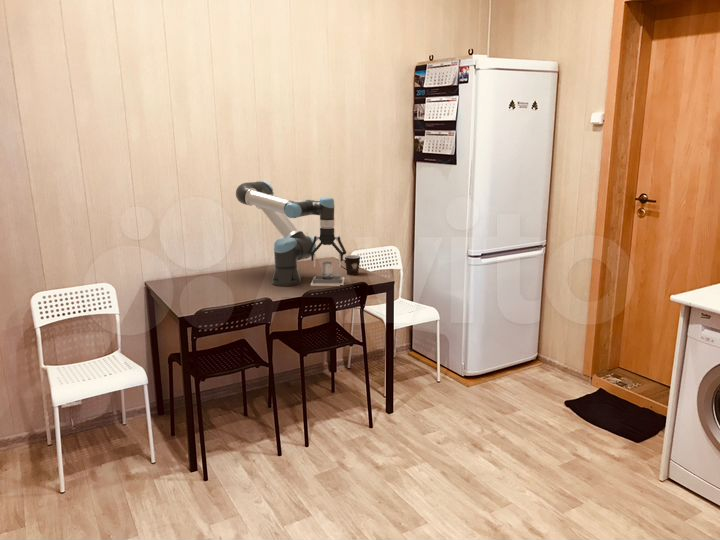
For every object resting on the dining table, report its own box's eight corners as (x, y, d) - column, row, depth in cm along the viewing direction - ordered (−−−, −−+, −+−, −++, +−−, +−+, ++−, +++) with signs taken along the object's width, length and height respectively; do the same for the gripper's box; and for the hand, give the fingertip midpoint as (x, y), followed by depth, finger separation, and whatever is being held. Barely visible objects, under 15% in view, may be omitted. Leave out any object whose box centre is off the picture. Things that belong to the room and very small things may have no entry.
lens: (322, 282, 304) (321, 263, 301) (322, 279, 309) (322, 261, 307) (332, 282, 303) (332, 263, 301) (333, 279, 309) (333, 261, 307)
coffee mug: (360, 272, 328) (360, 255, 326) (359, 275, 320) (359, 258, 318) (340, 271, 329) (340, 254, 327) (338, 275, 321) (338, 258, 319)
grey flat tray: (310, 285, 299) (310, 281, 298) (313, 278, 315) (313, 274, 314) (343, 285, 299) (342, 281, 298) (344, 278, 314) (344, 274, 314)
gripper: (302, 228, 296) (303, 268, 301) (350, 228, 296) (350, 268, 301) (304, 225, 304) (304, 264, 309) (351, 226, 303) (350, 265, 308)
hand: (327, 266), depth 305 cm, fingers open, 13 cm apart
